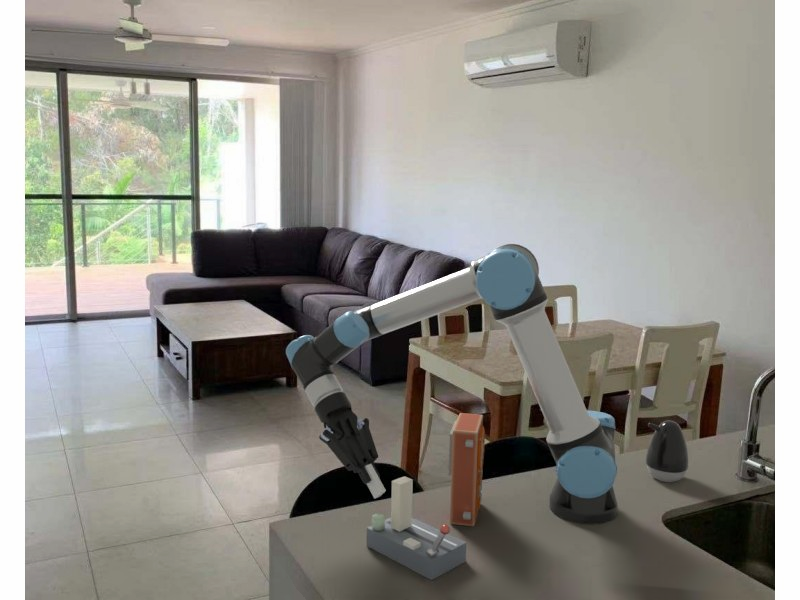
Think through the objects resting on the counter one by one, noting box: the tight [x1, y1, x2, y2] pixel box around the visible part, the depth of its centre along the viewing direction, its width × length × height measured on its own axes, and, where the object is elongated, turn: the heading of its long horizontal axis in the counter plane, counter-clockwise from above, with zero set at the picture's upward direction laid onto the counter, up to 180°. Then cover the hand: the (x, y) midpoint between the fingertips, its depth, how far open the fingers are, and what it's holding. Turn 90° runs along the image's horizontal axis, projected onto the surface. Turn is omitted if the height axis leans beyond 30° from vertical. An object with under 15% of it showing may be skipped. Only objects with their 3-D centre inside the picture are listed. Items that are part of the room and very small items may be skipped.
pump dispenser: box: [645, 420, 689, 483], centre depth 188 cm, size 10×10×15 cm
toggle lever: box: [426, 524, 451, 557], centre depth 139 cm, size 2×2×8 cm
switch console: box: [366, 516, 467, 581], centre depth 149 cm, size 18×10×5 cm, turn 45°
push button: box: [371, 513, 386, 531], centre depth 150 cm, size 3×3×2 cm
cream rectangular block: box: [390, 475, 414, 532], centre depth 150 cm, size 2×4×10 cm, turn 135°
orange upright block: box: [447, 412, 486, 527], centre depth 166 cm, size 21×7×15 cm
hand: (380, 494), depth 155 cm, fingers closed
